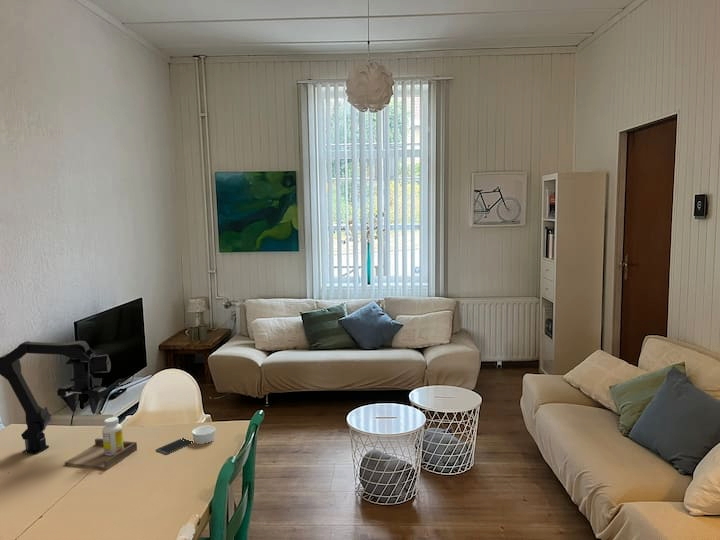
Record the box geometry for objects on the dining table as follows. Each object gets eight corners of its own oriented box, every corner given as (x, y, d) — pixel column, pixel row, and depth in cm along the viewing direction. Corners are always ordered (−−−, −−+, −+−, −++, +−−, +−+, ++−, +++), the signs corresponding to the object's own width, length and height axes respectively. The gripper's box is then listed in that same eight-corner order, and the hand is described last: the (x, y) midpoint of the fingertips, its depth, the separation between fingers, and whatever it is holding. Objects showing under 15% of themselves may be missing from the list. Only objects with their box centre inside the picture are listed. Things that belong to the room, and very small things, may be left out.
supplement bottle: (124, 447, 194) (121, 414, 193) (123, 454, 188) (121, 421, 187) (104, 450, 192) (102, 417, 190) (103, 457, 186) (100, 424, 184)
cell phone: (197, 442, 200) (197, 440, 200) (166, 456, 189) (166, 454, 189) (185, 438, 205) (185, 436, 205) (154, 451, 193) (154, 449, 193)
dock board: (64, 465, 183) (64, 457, 183) (97, 445, 198) (96, 438, 198) (107, 469, 179) (106, 461, 178) (137, 449, 194) (136, 442, 194)
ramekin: (220, 438, 203) (220, 428, 203) (203, 447, 196) (202, 436, 195) (205, 434, 208) (204, 423, 207) (187, 442, 200) (187, 431, 200)
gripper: (116, 369, 202) (118, 406, 204) (77, 366, 207) (80, 403, 208) (95, 377, 191) (98, 417, 193) (54, 375, 196) (57, 414, 197)
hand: (84, 412), depth 198 cm, fingers open, 9 cm apart
